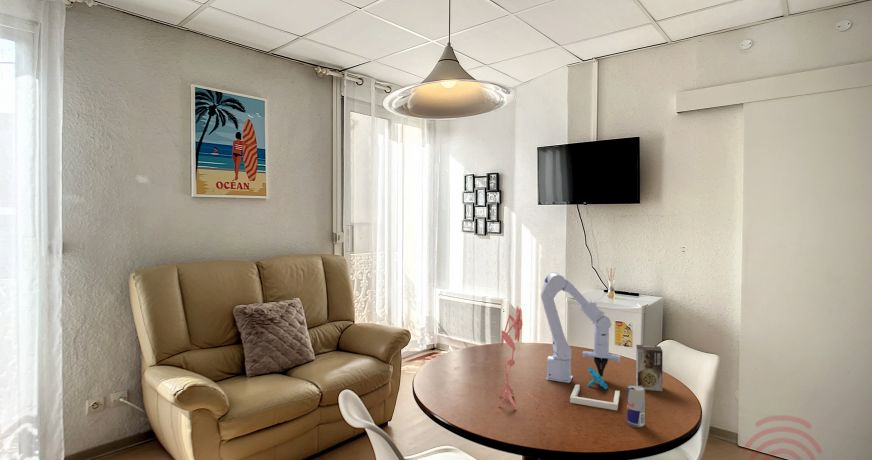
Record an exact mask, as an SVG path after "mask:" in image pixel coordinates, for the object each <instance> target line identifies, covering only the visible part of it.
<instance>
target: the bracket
mask: <svg viewBox="0 0 872 460" xmlns="http://www.w3.org/2000/svg"><path fill="white" fill-rule="evenodd" d="M580 387H581V386H580V384H578V383H577V384H575V385H574V387H573V390H572V392H571V394H570V396H569V402H570V403H571V404H576V405H577V404H578V405H584V406H588V407H593V408H598V409H599V408H600V409H607V410H612V411H618V408H619V401H620V395H621V394H620V392H621V391H620V390H615V391H614V396H613V401H605V400H599V399H593V398H589V397H587V398H586V397H583V396H582V397H580V396H578V395H579V393H580Z"/></svg>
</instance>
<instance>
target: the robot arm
mask: <svg viewBox="0 0 872 460" xmlns="http://www.w3.org/2000/svg"><path fill="white" fill-rule="evenodd" d="M561 291H563V292H566V293H568V294H569V295H570V296H571V297H572V298H573V299H574V300H575V301H576V302H577V303H578V304H579V305H580V311H581V312H582V313H584V314H585V316H586V317H587V318H588V319H589V320H590V321H592V324H593V325H594V330H593V331H594V332H593V338H594V339H593V340H594V341H593V351H585V350H583V351H582V357H583V358H593V362H594V364H595V366H596V368H597V373H599V374H600V376H601V378H603V376H604V371H605V368H606V366H607V365H608V362H609V360H610V361H616V362H621V355H619V354H614V353H610V351H609V350H610V349H609V347H610V346H609V345H610V333H609V331H610V328H611V327H612V322H611V319H610V318H609V317H608V316H606V315H605V311H603V310H602V309H600V308H599V307H598V306H597V303H596V302H595V301H592V300H589V299H586V298H585V296H584V295H583V294H582V293H581V292H580V291H579V290H578V288H576V287H575V286H574V284H572V283H571V282H570V281H569V280H567V279H566V278H565V276H563V275H561V274H560V273H558V272H553V271H552V272H550V273H548V274H547V276H546V277H545V278H544V279H543V285H542V289H541V292H540V299H541V301H542V305H543V309H544V312H545V315H546V320H547V323H548V326H549V329H550V333H551V339H552V344H551V347H552V350H553V354H552V355H548V357H547V359H546V360H547V361H546V381H547V380H548V381H554V382H555V381H556V382H560V383H568V384H570V383H571V382H572V379H573V377H574V376H573V375H571V373H572V372H571V371H572V370H571V368H572V367H571V366H572V365H571V363H572V362H571V361H572V360H571V359H572V358H571V357H572V355H573V349H572V348H571V346H570V345H569V344H568V341H567V338H566V336H565V333H564V330H563V326H562V323H561V320H560V316H559V312H558V310H557V306H556V303H555V297H557V295H558V293H559V292H561Z"/></svg>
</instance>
